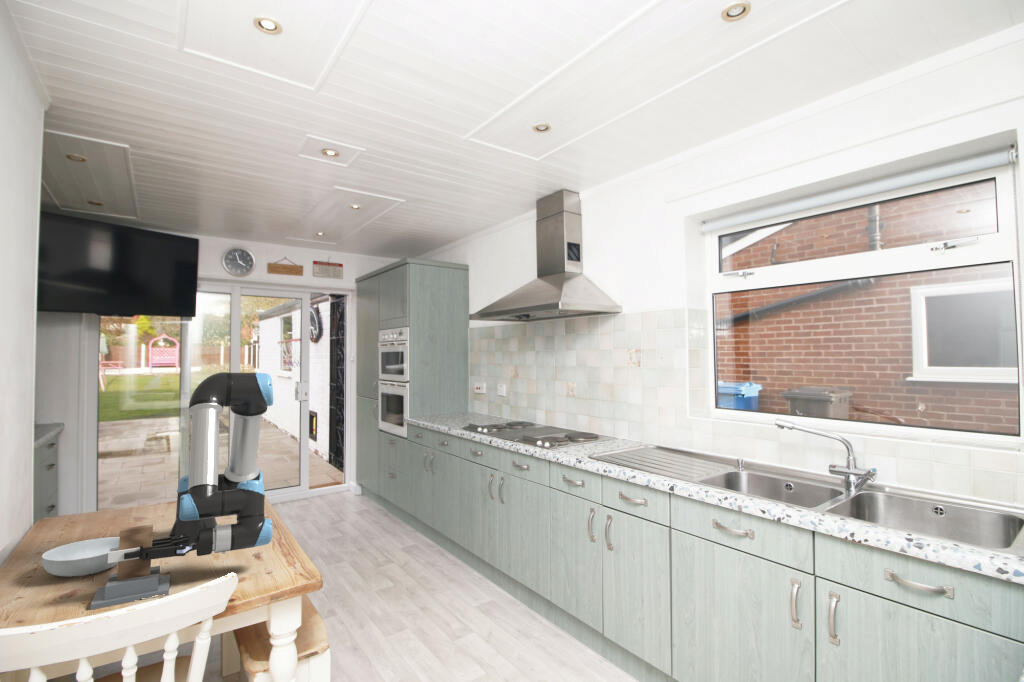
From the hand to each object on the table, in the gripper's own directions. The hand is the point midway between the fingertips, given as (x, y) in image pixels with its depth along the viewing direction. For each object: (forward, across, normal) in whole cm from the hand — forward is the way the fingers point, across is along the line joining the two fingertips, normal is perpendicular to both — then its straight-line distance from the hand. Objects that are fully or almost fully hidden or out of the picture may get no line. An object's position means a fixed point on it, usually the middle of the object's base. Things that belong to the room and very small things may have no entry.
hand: (109, 555), depth 128 cm
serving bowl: (+7, +26, -11) cm, 29 cm away
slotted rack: (-6, 0, -11) cm, 12 cm away
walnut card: (-6, 0, -9) cm, 10 cm away
